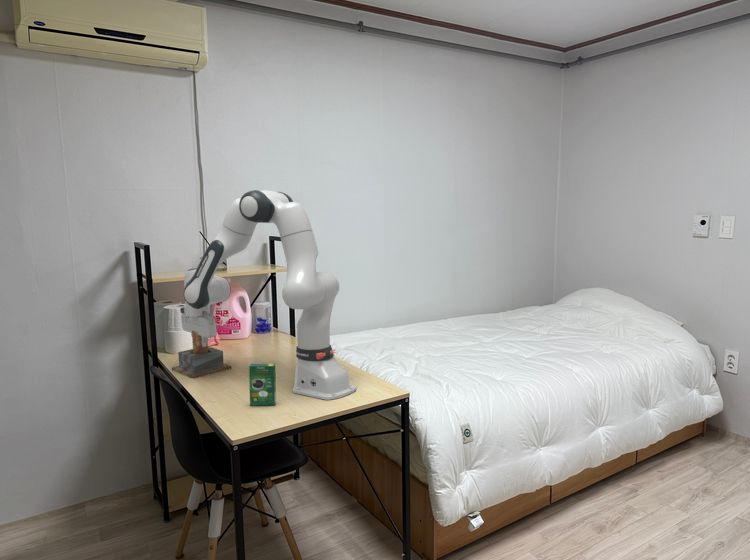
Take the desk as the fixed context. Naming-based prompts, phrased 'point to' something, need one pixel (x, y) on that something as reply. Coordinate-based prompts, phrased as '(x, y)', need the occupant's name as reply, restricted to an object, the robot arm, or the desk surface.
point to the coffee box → (262, 384)
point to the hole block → (200, 363)
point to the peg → (198, 344)
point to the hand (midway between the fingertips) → (200, 345)
